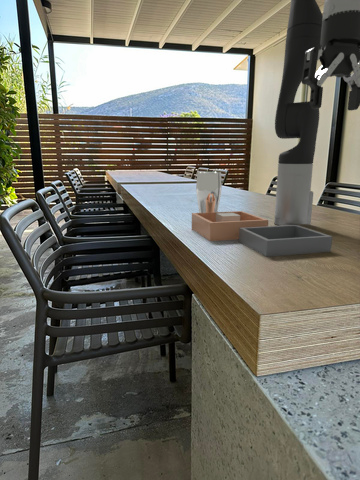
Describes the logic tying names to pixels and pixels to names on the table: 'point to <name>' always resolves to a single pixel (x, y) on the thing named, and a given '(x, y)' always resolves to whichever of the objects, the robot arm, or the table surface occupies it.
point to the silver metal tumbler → (208, 191)
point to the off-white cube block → (227, 217)
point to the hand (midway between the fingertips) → (334, 109)
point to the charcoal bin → (284, 240)
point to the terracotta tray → (224, 225)
